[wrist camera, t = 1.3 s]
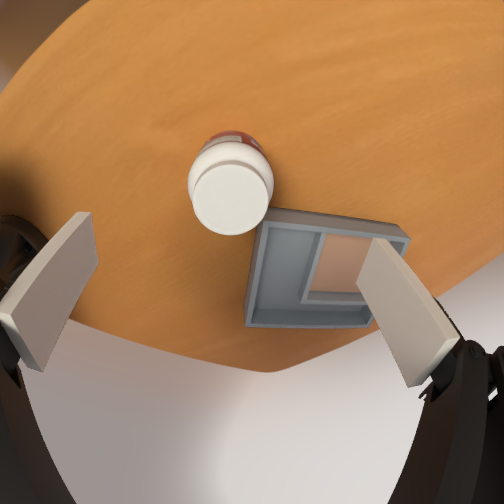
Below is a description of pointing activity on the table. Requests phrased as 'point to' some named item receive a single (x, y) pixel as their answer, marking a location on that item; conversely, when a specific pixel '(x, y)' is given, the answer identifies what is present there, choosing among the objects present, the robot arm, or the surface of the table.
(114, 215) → the table surface
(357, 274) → the walled box
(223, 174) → the pill bottle
